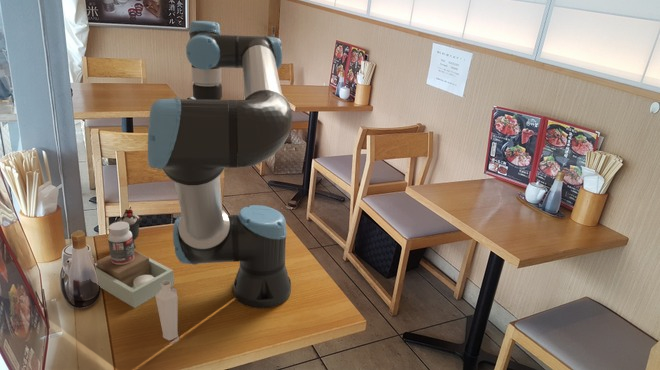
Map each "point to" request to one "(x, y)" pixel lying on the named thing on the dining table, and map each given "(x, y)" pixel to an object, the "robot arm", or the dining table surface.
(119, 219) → the sundae
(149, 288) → the tote
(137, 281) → the white half dome
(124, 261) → the pill bottle
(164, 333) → the perfume bottle
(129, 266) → the walnut block
